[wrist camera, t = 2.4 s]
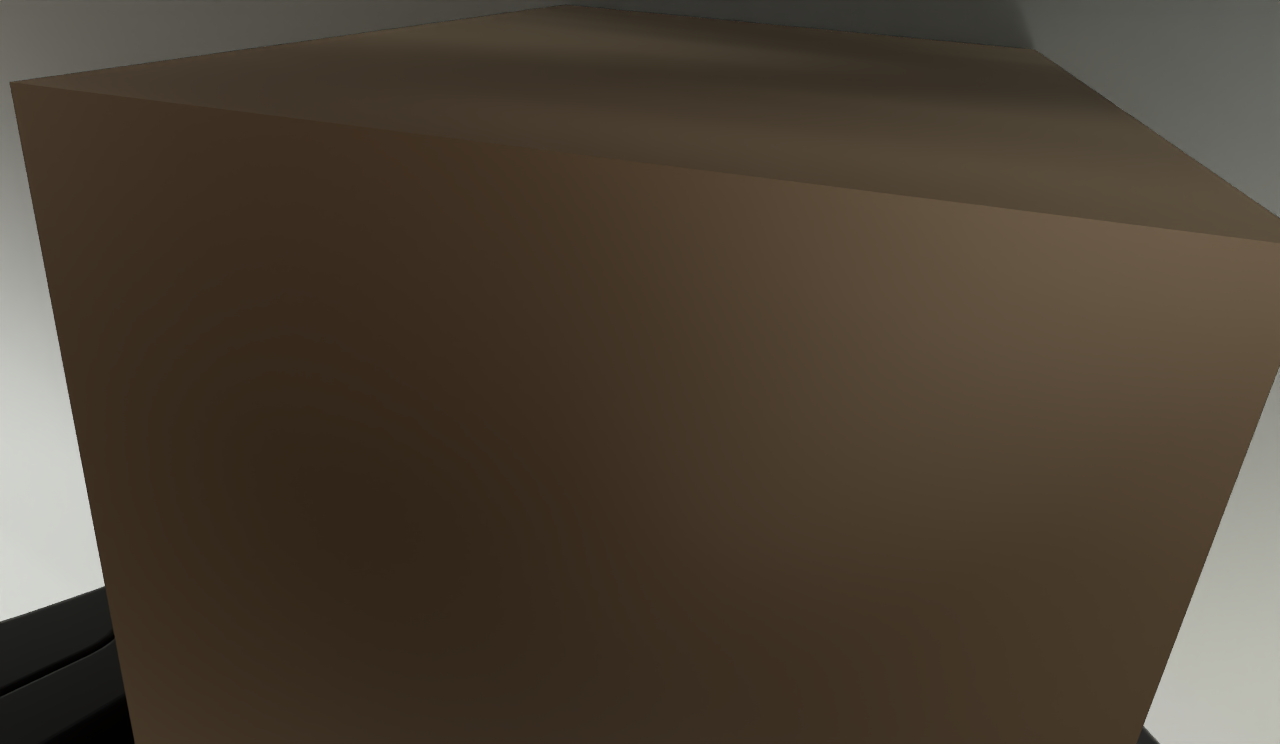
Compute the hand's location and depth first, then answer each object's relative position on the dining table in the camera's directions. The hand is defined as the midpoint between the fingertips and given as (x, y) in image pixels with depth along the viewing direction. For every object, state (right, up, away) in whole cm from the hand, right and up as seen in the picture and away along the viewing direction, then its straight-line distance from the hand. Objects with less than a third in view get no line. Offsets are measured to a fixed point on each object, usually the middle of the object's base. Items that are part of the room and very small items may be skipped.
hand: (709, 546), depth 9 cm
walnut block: (0, 0, +1) cm, 1 cm away
